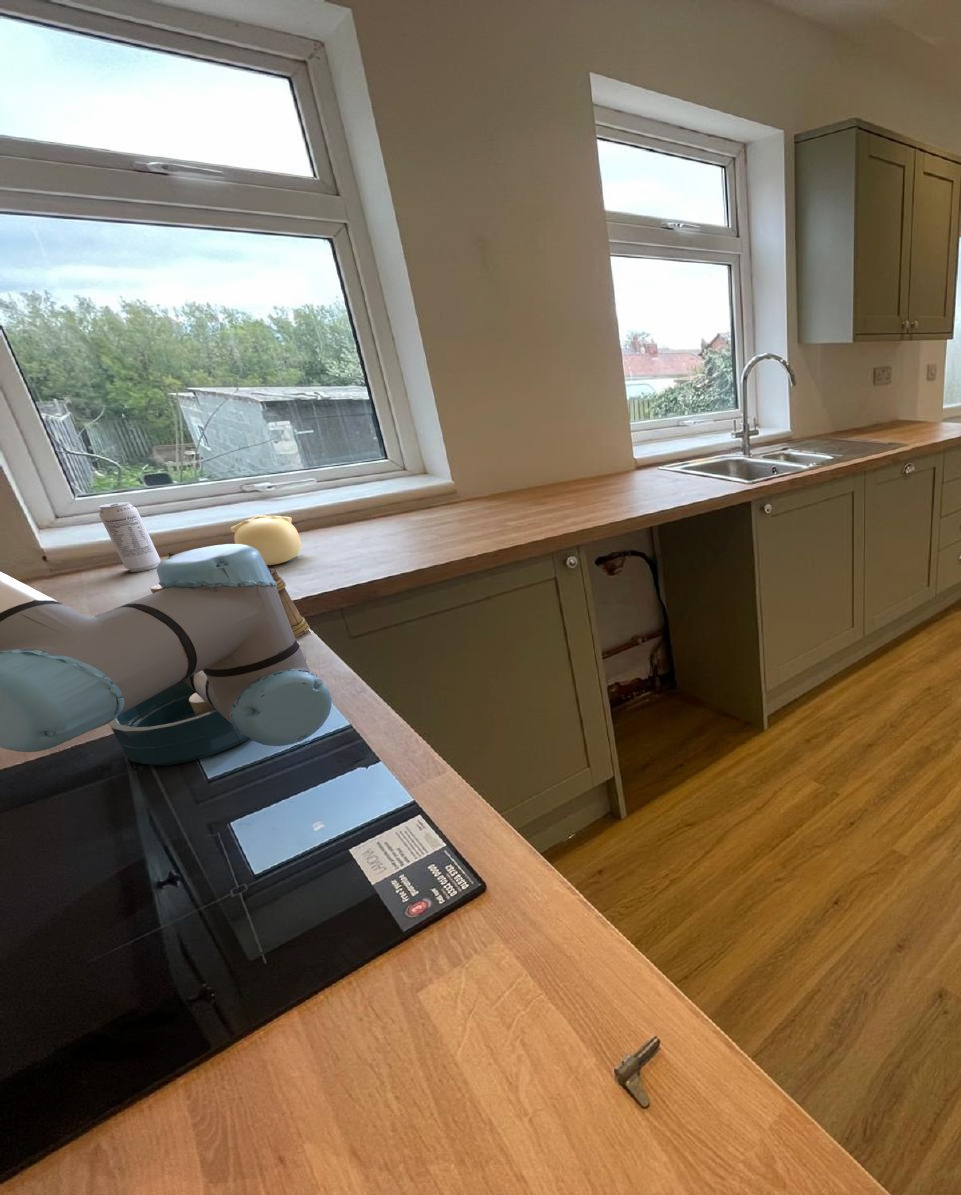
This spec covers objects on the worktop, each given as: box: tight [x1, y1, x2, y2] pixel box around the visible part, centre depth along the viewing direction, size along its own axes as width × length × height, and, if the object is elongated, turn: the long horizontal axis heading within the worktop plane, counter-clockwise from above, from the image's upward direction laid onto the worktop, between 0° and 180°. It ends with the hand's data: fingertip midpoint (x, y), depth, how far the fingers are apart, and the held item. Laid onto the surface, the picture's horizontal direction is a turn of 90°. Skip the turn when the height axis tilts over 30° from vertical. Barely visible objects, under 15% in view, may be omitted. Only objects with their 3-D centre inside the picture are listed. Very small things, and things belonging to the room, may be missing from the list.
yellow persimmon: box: [230, 514, 302, 566], centre depth 145 cm, size 11×12×11 cm
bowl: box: [107, 683, 251, 766], centre depth 82 cm, size 16×16×6 cm
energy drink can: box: [98, 500, 162, 573], centre depth 144 cm, size 6×6×15 cm
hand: (174, 626), depth 83 cm, fingers closed on wooden stirrer, 2 cm apart
